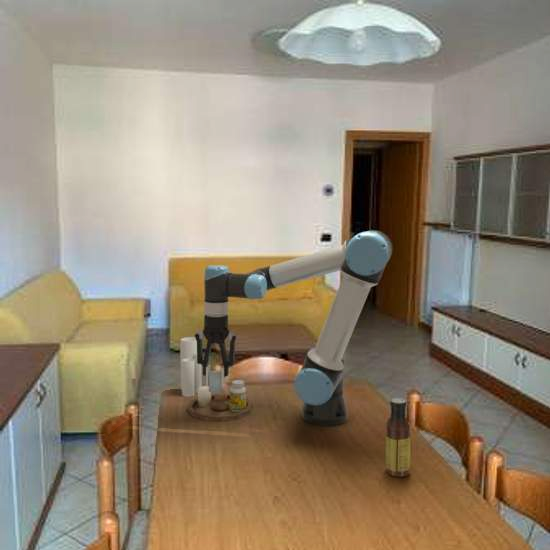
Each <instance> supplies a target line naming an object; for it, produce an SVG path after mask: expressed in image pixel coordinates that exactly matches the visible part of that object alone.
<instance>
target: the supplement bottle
mask: <svg viewBox="0 0 550 550" xmlns="http://www.w3.org/2000/svg"><path fill="white" fill-rule="evenodd" d="M231 386H232V387H230V390H229V394H230V410H231V411H233V412H242V411H244V410H246V398H247V388H246V387H245V381H244V380H241V379H236V380H235V379H234V380H232V381H231Z"/></svg>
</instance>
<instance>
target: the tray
mask: <svg viewBox="0 0 550 550" xmlns="http://www.w3.org/2000/svg"><path fill="white" fill-rule="evenodd" d="M186 407H187V408H186V410H187V412H188V413H189V414H190V415H191V417H194V418H196V419H200V420H202V421H211V422H212V421H213V422H224V421H225V422H226V421H233V420H239V419H241V418H243V417H245V416H247V415H250V414H251V411H252V410H253V403H252V402H251V401H250V400H249V399H248V398H247V397H246V410H244V411H242V412H233V411H231V410H230V393H227V402H226V401H214V394H211V406H210V407H206V408H202V407H199V406H198V397H197V398H193V399H191V400H190V402H189V403H188V404H187V406H186Z"/></svg>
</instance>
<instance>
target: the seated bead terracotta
mask: <svg viewBox="0 0 550 550" xmlns="http://www.w3.org/2000/svg"><path fill="white" fill-rule="evenodd" d="M227 394H228V384H227V383H225V386H224V387H222V392H220V393H213V395H214V401H226V402H227Z"/></svg>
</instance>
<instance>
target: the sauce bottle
mask: <svg viewBox="0 0 550 550" xmlns="http://www.w3.org/2000/svg"><path fill="white" fill-rule="evenodd" d="M389 404H390V417H389V418H388V419H387V422H386V423H385V424H386V425H385V426H386V431H385V433H386V434H385V468H386V472H387V474H389V475H390V476H392V477H396V478H404V477H407V476H408V475H410V468H411V431H410V430H411V427H410V424H409V421H408V420H407V416H406V407H407V400H406V399H404V398H402V397H393V398H391V399H390V403H389Z"/></svg>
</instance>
